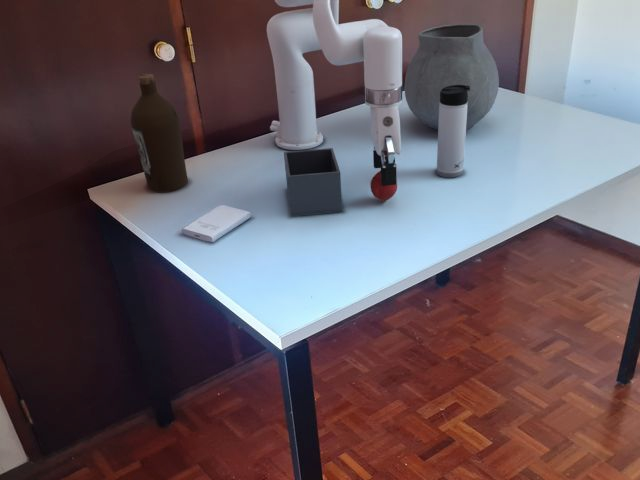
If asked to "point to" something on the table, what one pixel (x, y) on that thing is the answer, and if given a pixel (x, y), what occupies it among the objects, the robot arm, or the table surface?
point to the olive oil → (158, 139)
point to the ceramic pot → (451, 72)
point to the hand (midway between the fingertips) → (384, 175)
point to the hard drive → (216, 223)
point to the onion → (382, 188)
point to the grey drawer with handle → (313, 182)
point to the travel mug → (452, 130)
